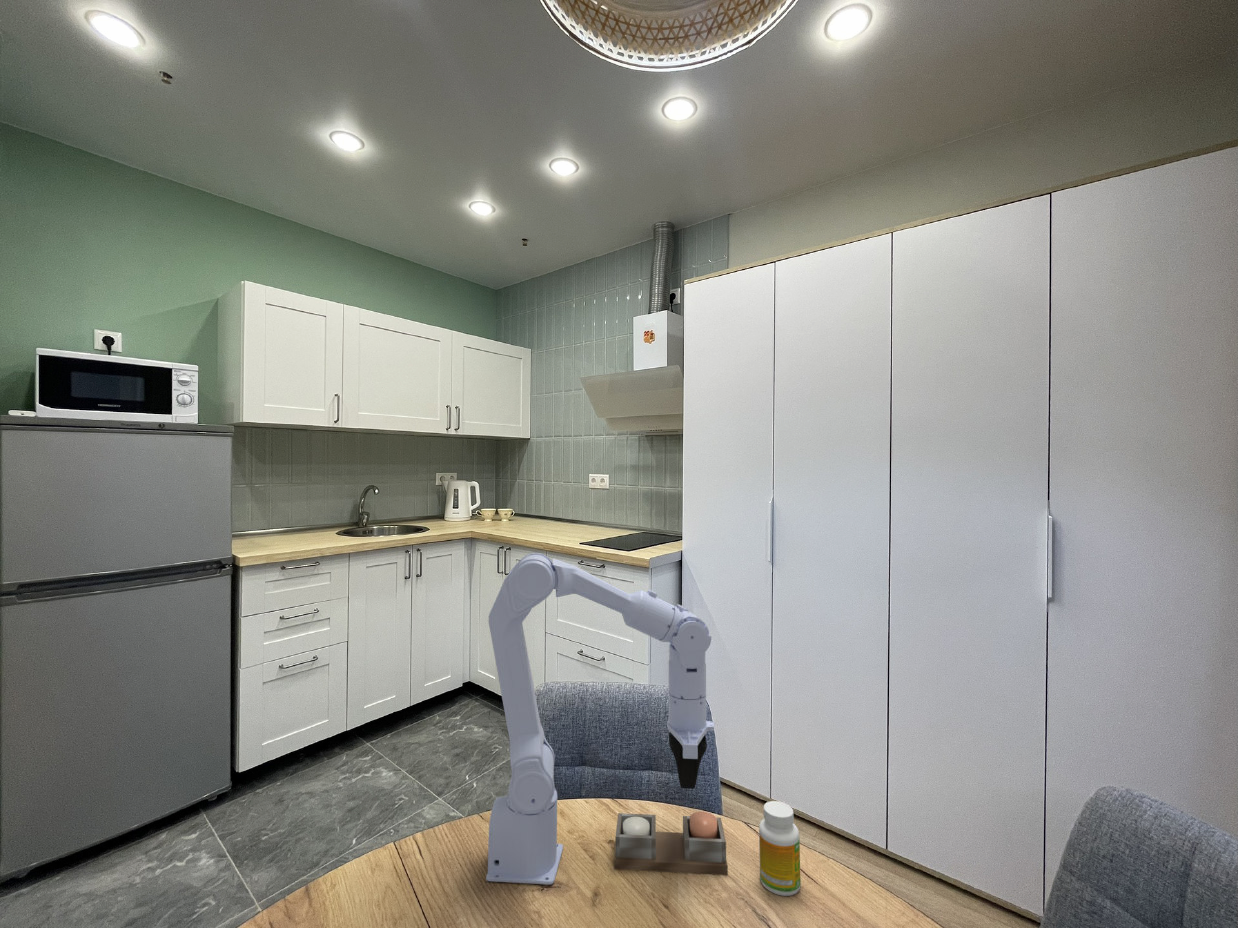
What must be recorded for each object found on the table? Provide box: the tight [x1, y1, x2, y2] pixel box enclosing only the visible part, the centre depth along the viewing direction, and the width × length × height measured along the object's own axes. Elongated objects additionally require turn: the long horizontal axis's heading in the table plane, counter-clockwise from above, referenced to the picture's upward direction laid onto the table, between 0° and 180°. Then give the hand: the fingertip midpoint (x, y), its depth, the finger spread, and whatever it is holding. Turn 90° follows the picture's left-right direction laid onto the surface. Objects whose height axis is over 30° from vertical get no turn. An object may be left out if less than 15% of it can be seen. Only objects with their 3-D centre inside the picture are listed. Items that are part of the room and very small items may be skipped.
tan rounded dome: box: [690, 811, 718, 839], centre depth 77 cm, size 4×4×2 cm
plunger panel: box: [613, 812, 729, 876], centre depth 77 cm, size 16×7×4 cm, turn 86°
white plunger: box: [623, 817, 650, 836], centre depth 77 cm, size 4×4×2 cm
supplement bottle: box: [758, 800, 802, 897], centre depth 72 cm, size 5×5×10 cm
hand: (687, 786), depth 78 cm, fingers closed
